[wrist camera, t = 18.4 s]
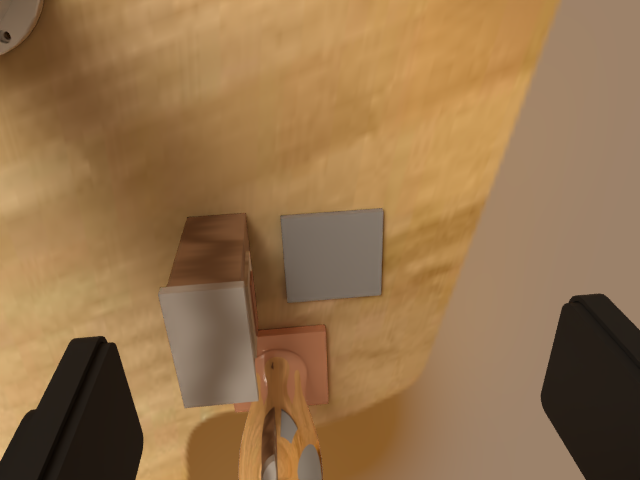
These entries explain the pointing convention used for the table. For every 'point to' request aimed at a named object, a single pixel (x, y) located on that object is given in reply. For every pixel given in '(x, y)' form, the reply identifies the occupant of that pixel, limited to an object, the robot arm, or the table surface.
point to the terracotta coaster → (307, 346)
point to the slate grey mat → (332, 254)
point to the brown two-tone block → (213, 312)
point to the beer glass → (280, 424)
